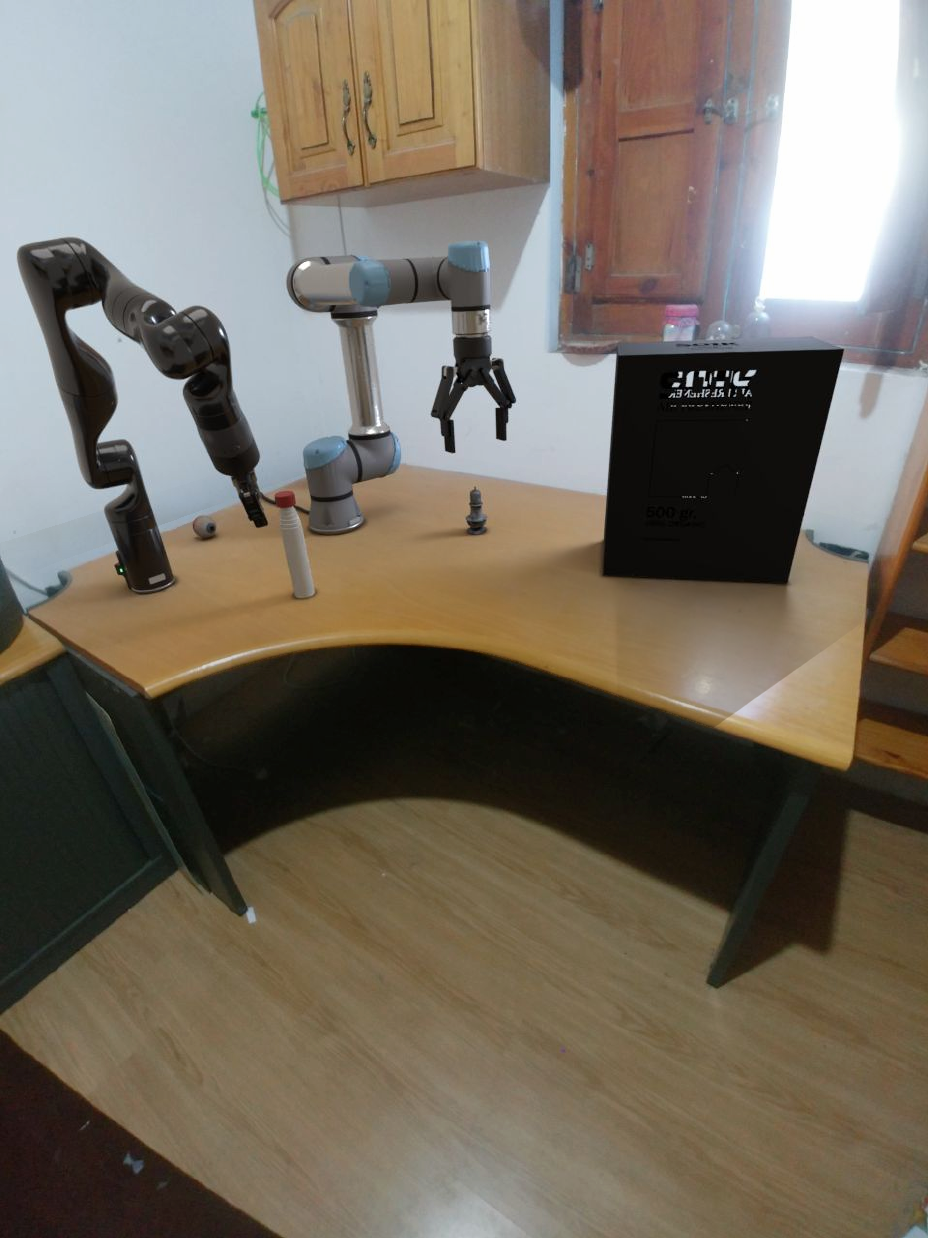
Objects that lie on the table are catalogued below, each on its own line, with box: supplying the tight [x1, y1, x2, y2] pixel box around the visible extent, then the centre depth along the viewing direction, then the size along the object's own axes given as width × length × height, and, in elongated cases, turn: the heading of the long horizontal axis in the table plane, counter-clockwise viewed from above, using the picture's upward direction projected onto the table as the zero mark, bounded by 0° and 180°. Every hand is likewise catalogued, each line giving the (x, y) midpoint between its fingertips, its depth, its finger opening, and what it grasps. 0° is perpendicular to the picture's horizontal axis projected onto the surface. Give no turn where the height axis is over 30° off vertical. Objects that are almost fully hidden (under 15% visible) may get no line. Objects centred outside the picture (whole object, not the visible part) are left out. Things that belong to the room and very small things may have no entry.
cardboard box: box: [602, 336, 845, 585], centre depth 127 cm, size 38×20×45 cm, turn 78°
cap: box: [274, 490, 297, 509], centre depth 123 cm, size 4×4×2 cm
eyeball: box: [192, 514, 217, 538], centre depth 165 cm, size 6×6×6 cm
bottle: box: [279, 506, 316, 599], centre depth 128 cm, size 4×4×22 cm
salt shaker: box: [464, 486, 489, 535], centre depth 157 cm, size 6×6×12 cm
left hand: (257, 508), depth 108 cm, fingers open, 8 cm apart
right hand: (476, 445), depth 127 cm, fingers open, 13 cm apart
